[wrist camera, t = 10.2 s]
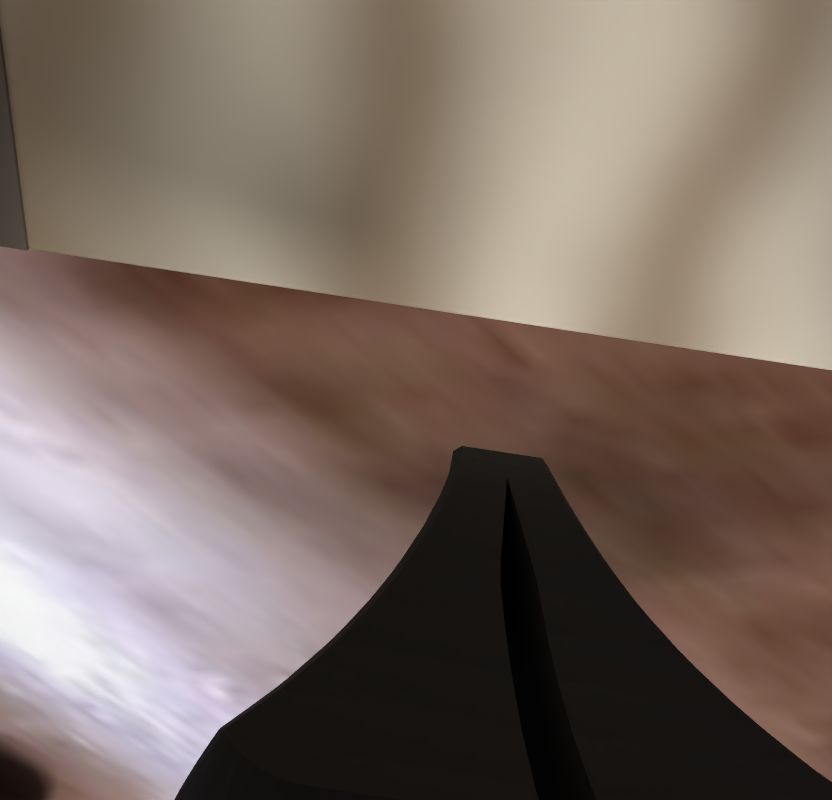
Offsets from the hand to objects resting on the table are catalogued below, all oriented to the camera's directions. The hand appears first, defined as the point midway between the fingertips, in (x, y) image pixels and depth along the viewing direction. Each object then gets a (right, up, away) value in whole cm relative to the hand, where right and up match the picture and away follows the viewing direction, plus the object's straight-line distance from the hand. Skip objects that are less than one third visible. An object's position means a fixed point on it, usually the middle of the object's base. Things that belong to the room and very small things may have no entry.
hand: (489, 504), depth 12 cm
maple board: (-1, +9, +6) cm, 11 cm away
